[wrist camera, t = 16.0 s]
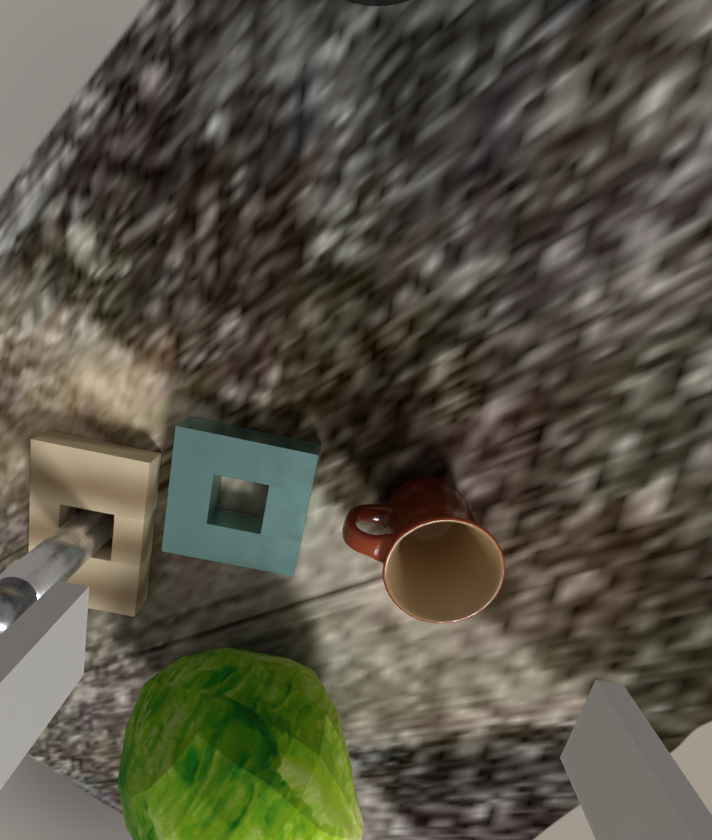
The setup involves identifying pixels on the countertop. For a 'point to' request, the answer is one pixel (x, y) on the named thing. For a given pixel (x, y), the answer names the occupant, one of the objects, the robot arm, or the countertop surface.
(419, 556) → the mug
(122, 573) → the wooden square-hole plate
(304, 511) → the socket
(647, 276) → the countertop surface
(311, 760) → the lettuce
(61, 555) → the metal cylinder rod
